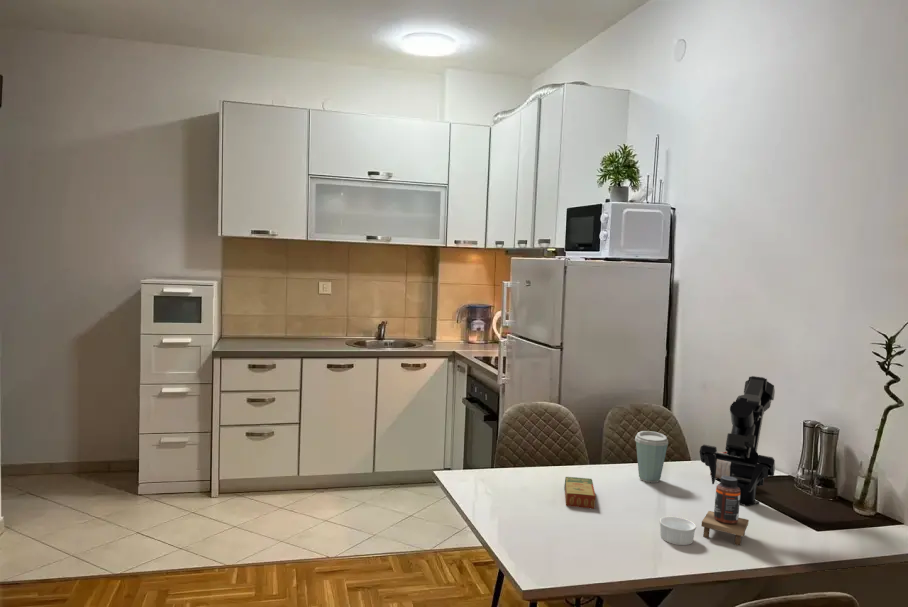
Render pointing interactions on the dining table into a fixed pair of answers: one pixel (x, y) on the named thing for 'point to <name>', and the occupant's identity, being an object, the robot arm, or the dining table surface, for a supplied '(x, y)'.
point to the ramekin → (677, 530)
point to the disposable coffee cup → (650, 455)
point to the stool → (725, 527)
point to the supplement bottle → (727, 500)
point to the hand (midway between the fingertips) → (730, 487)
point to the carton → (579, 492)
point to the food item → (722, 468)
